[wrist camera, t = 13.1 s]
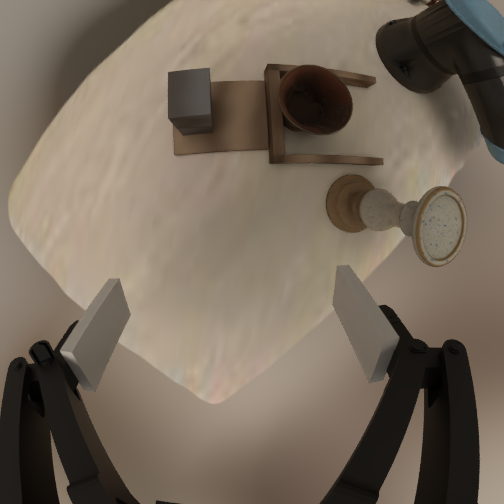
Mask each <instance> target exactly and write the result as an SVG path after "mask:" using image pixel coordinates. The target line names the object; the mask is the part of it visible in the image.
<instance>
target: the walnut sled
mask: <svg viewBox="0 0 504 504" xmlns="http://www.w3.org/2000/svg"><path fill="white" fill-rule="evenodd" d="M295 67H298V66H296V65H281V64H267V67H266V69H265V71H264V77H265V81H222V82H210V69H209V68H202V69H191V70H182V71H174V72H168V119H169V120H170V121H171V122H172V123H173V137H174V155H185V154H196V153H208V152H222V151H239V150H267V149H269V163H270V164H274V163H330V164H358V165H383V158H372V157H357V156H338V155H285V147H284V129H283V113H282V110H281V108H280V105H279V102H278V95H277V92H278V86H279V83H280V78H283V76H284V75H285V74H286V73H287V72H288V71H290V70H291V69H293V68H295ZM328 70H330V71H332V72H333V73H335V74H336V75H337V76H338V77H339V78H340V79H341V80H342V81H343V82H344V83H345V84H348V85H354V86H360V87H365V88H367V87H369V86H371V85H373V84H375V83H376V78H375V77H372V76H367V75H362V74H357V73H351V72H346V71H339V70H333V69H328ZM265 92H266V95H265ZM266 108H267V111H266ZM267 125H268V128H267ZM268 143H269V147H268Z"/></svg>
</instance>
